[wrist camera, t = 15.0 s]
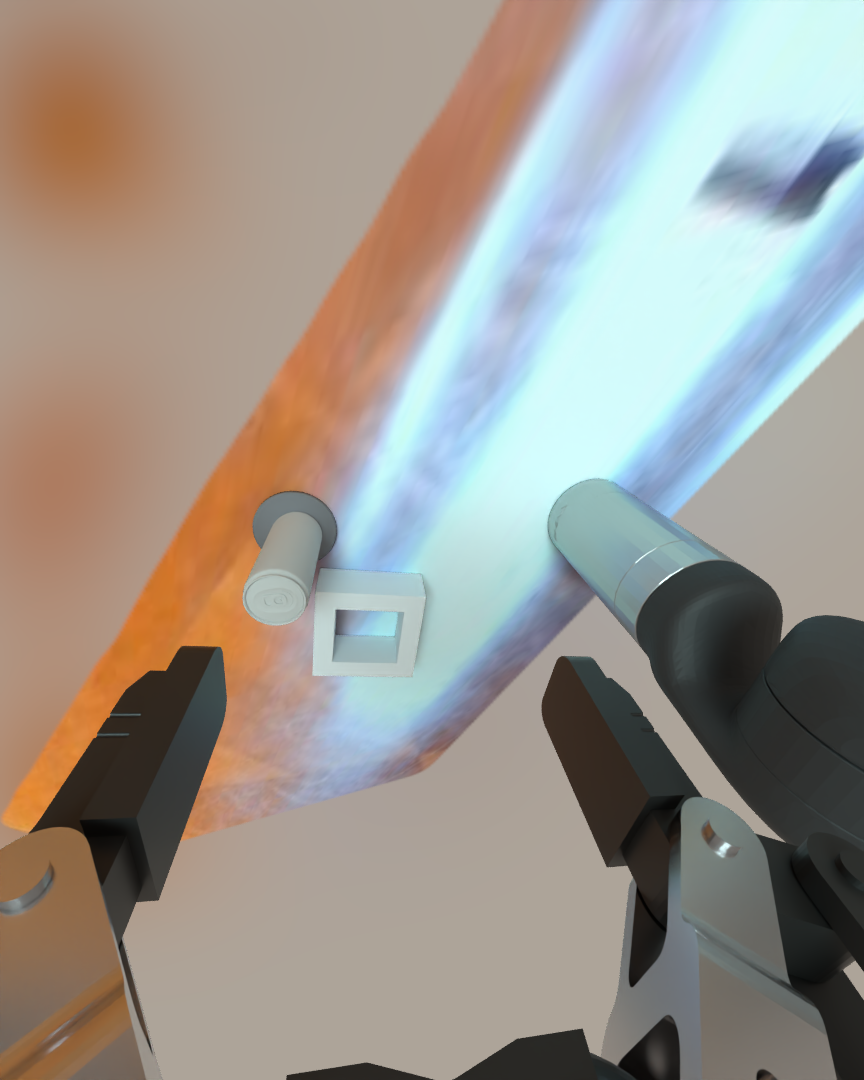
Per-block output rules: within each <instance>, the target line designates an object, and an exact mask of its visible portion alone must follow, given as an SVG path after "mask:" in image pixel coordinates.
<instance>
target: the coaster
mask: <svg viewBox="0 0 864 1080" xmlns="http://www.w3.org/2000/svg"><path fill="white" fill-rule="evenodd" d="M290 512H302V513H305V514H308V515H309V516H311V517H313V518H314V519H315V520H316V521H317V522H318V524H319V525H320V527H321V531H322V540H321V545H320V550H319V555H318V560H320V559H321V558H323V557H324V556H325V555H327V553H328V552H329V551H330V550H331V548H332V547H333V544H334V542H335V538H336V522H335V519H334V516H333V514H332V512H331V511H330V509H329V508H328V507H327V506H326V505H325V504H324V503H323V502H322V501H321V500H319V499H318V498H316V497H314V496H312V495H310V494H307V493H304V492H299V491H285V492H280V493H277V494H275V495H273V496H271V497H269V498H268V499H266V500H265V501H264V502H263V503H262V504H261V505H260V507H259V508H258V510H257V512H256V514H255V516H254V520H253V533H254V537H255V539H256V542H257V543H258V545H259V546H260V548H261V549H262V547H263V545H264V543H265V541H266V539H267V536H268V534H269V532H270V530H271V528H272V526H273V524H274V523H275V521H276V520H277V519H278V518H280V517H281V516H283V515H285V514H287V513H290ZM318 560H317V561H318Z"/></svg>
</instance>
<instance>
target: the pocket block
mask: <svg viewBox="0 0 864 1080" xmlns="http://www.w3.org/2000/svg"><path fill="white" fill-rule="evenodd" d="M425 601H426V594H425V589H424V584H423V580H422V575H421V574H414V573H397V572H380V571H363V570H347V569H330V568H320V571H319V576H318V581H317V586H316V591H315V617H314V647H313V676H371V677H412V676H413V670H414V664H415V659H416V653H417V647H418V641H419V636H420V630H421V624H422V618H423V613H424V607H425ZM337 609H340V610H364V611H388V612H398V616H397V623H396V630H395V637H390V636H358V635H335V629H336V612H337Z"/></svg>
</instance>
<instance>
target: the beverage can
mask: <svg viewBox="0 0 864 1080" xmlns="http://www.w3.org/2000/svg"><path fill="white" fill-rule="evenodd" d="M321 540H322V531H321V527H320V525H319V524H318V522H317V521H316V520H315V519H314V518H313V517H311V516H309V515H308V514H305V513H302V512H290V513H287V514H285V515H283V516H281V517H280V518H278V519H277V520H276V521H275V523H274V524H273V526H272V528H271V530H270V532H269V534H268V536H267V539H266V541H265V543H264V545H263V547H262V549H261V551H260V553H259V556H258V558H257V560H256V562H255V564H254V566H253V568H252V570H251V573H250V575H249V577H248V579H247V581H246V583H245V586H244V591H243V605H244V607H245V609H246V611H247V612H248V613H249V614H250V616H251V617H253V618H254V619H256V620H257V621H259V622H262V623H264V624H268V625H285V624H289V623H291V622H293V621H295V620H296V619H298V618H299V617H300V616H301V615H302V613H303V612H304V610H305V608H306V607H307V605H308V601H309V598H310V593H311V588H312V584H313V579H314V574H315V569H316V564H317V560H318V555H319V550H320V545H321Z"/></svg>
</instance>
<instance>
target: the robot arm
mask: <svg viewBox="0 0 864 1080" xmlns="http://www.w3.org/2000/svg"><path fill="white" fill-rule="evenodd" d="M548 531H549V535H550V538H551V540H552V541H553V543H554V545H555V546H556V547H557V548H558V549H559V551H560V552H561V553H562V554H563V555H564V557H565V558H566V559H567V560H568V562H569V563H570V564H571V565H572V566H573V567H574V569H575V570H576V571H577V572H578V573H579V575H580V576H581V577H582V578H583V579H584V581H585V582H586V583H587V584H588V585H589V587H590V588H591V589H592V590H593V591H594V592H595V594H596V595H597V596H598V597H599V598H600V600H601V601H602V602H603V603H604V604H605V606H606V607H607V608H608V609H609V610H610V611H611V613H612V614H613V615H614V616H615V617H616V618H617V620H618V621H619V622H620V623H621V625H622V626H623V627H624V628H625V629H626V630H627V632H628V633H629V634H630V635H631V636H632V637H633V639H634V640H635V641H636V642H637V643H638V645H639V646H640V647H641V648H642V650H643V651H644V652H645V653H646V654H647V656H648V657H649V660H650V664H651V668H652V671H653V674H654V677H655V679H656V681H657V683H658V684H659V686H660V687H661V689H662V691H663V692H664V693H665V695H666V696H667V697H668V699H669V700H670V702H671V703H672V704H673V706H674V707H675V708H676V710H677V711H678V713H679V714H680V715H681V717H682V718H683V720H684V721H685V722H686V724H687V725H688V727H689V728H690V729H691V731H692V732H693V734H694V735H695V736H696V738H697V739H698V741H699V742H700V743H701V745H702V746H703V748H704V749H705V751H706V752H707V754H708V755H709V756H710V758H711V759H712V760H713V762H714V763H715V765H716V766H717V767H718V768H719V770H720V771H721V772H722V774H723V775H724V776H725V778H726V779H727V781H728V782H729V783H730V784H731V786H732V787H733V788H734V789H735V790H736V792H737V793H738V794H739V795H740V796H741V798H742V799H743V800H744V801H745V802H746V804H747V805H748V806H749V807H750V808H751V809H752V810H753V811H754V812H755V813H756V814H757V815H758V816H759V817H760V818H761V819H762V820H763V821H764V822H765V824H767V825H768V827H770V828H771V829H772V830H773V831H774V832H775V833H776V834H777V835H778V836H779V837H780V838H782V839H783V840H784V841H785V842H786V843H785V842H781V841H778V840H775V839H772V838H768V837H765V836H761V835H758V834H755V833H754V831H753V830H752V829H751V828H750V827H749V826H748V825H747V824H746V822H745V821H744V820H742V819H741V818H740V817H739V816H738V815H737V814H735V813H734V812H733V811H732V810H730V809H729V808H727V807H725V806H724V805H722V804H720V803H718V802H716V801H714V800H711V799H708V798H703V797H702V796H701V794H700V793H699V792H698V790H697V789H696V787H695V786H694V785H693V783H692V782H691V780H690V779H689V778H688V776H687V775H686V773H685V772H684V770H683V769H682V767H681V766H680V765H679V763H678V762H677V760H676V759H675V758H674V756H673V755H672V753H671V752H670V750H669V749H668V748H667V746H666V745H665V743H664V742H663V740H662V739H661V738H660V736H659V735H658V733H656V732H654V728H653V726H652V725H651V723H650V722H649V721H648V719H647V718H646V717H644V716H643V712H642V711H641V709H640V708H639V706H638V705H637V704H636V702H635V701H634V699H633V698H632V697H631V695H630V694H629V693H628V692H627V691H626V690H624V689H623V688H622V687H621V686H620V685H619V684H618V683H616V682H615V681H614V680H613V679H612V678H606V676H605V675H604V673H603V672H602V670H601V669H600V667H599V666H598V665H597V663H596V662H595V660H593V659H592V658H591V657H576V656H575V657H574V656H573V657H572V656H561V657H560V658H558V660H557V662H556V664H555V667H554V669H553V672H552V675H551V678H550V680H549V683H548V686H547V688H546V691H545V694H544V697H543V700H542V717H543V721H544V724H545V727H546V729H547V731H548V733H549V736H550V738H551V741H552V743H553V745H554V747H555V750H556V752H557V754H558V757H559V759H560V761H561V763H562V766H563V768H564V770H565V772H566V775H567V777H568V779H569V782H570V784H571V786H572V788H573V791H574V793H575V795H576V798H577V800H578V802H579V805H580V807H581V809H582V811H583V814H584V816H585V818H586V821H587V823H588V825H589V827H590V830H591V832H592V834H593V837H594V839H595V841H596V843H597V846H598V848H599V850H600V852H601V855H602V857H603V859H604V861H605V864H606V866H607V867H616V866H628V868H629V870H630V872H631V874H632V876H633V879H632V881H631V883H630V885H629V891H628V902H627V910H626V920H625V929H624V939H623V948H622V958H621V967H620V978H619V986H618V992H617V997H616V1001H615V1004H614V1007H613V1010H612V1012H611V1014H610V1017H609V1020H608V1024H607V1027H606V1032H605V1036H604V1041H603V1047H602V1054H601V1057H599V1056H597V1055H595V1054H592V1053H590V1052H589V1049H588V1045H587V1042H586V1039H585V1035H584V1032H583V1029H577V1030H571V1031H565V1032H558V1033H552V1034H546V1035H539V1036H533V1037H526V1038H520V1039H516V1040H515V1041H513V1042H511V1043H510V1044H508V1045H507V1046H505V1047H504V1048H502V1049H501V1050H499V1051H498V1052H496V1053H494V1054H493V1055H491V1056H490V1057H488V1058H487V1059H485V1060H484V1061H482V1062H480V1063H479V1064H477V1065H476V1066H474V1067H473V1068H471V1069H470V1070H468V1071H466V1072H465V1073H463V1074H462V1075H460V1076H459V1077H457V1078H455V1079H453V1080H864V1000H863V999H862V997H861V996H860V994H859V993H858V991H857V990H856V989H855V987H854V986H853V984H852V983H851V981H850V980H849V978H848V977H847V975H846V974H845V973H844V971H843V969H844V968H845V967H847V966H848V965H850V964H851V963H852V962H854V961H855V960H856V962H857V963H858V965H859V966H860V967H861V969H862V970H863V971H864V622H863V621H859V620H855V619H851V618H847V617H841V616H829V615H823V616H815V617H811V618H808V619H805V620H803V621H802V622H800V623H799V624H797V625H796V626H795V627H794V628H793V629H792V630H791V631H790V632H789V633H788V634H787V635H786V636H785V638H784V639H783V640H782V641H781V643H780V639H781V630H782V622H783V614H782V606H781V603H780V600H779V598H778V596H777V594H776V592H775V591H774V590H773V589H772V588H771V586H770V585H769V584H767V583H766V582H765V581H764V580H762V579H761V578H760V577H759V576H757V575H755V574H754V573H752V572H751V571H749V570H748V569H746V568H745V567H743V566H741V565H740V564H738V563H737V562H735V561H734V560H732V559H731V558H729V557H728V556H726V555H724V554H723V553H722V552H720V551H718V550H717V549H715V548H714V547H712V546H710V545H709V544H707V543H706V542H704V541H703V540H701V539H700V538H698V537H697V536H695V535H693V534H692V533H690V532H689V531H687V530H686V529H684V528H683V527H681V526H680V525H678V524H677V523H675V522H674V521H672V520H670V519H669V518H667V517H666V516H664V515H663V514H661V513H660V512H658V511H657V510H655V509H654V508H652V507H651V506H649V505H647V504H646V503H644V502H643V501H641V500H640V499H638V498H637V497H635V496H634V495H632V494H631V493H629V492H628V491H626V490H625V489H623V488H621V487H620V486H618V485H617V484H615V483H614V482H611V481H608V480H605V479H590V480H586V481H583V482H580V483H578V484H576V485H574V486H572V487H571V488H570V489H568V490H567V491H566V492H564V493H563V494H562V496H561V497H560V498H559V499H558V500H557V502H556V503H555V505H554V506H553V508H552V511H551V513H550V516H549V521H548ZM226 702H227V695H226V684H225V673H224V662H223V652H222V649H221V647H207V646H182V647H181V648H180V649H179V650H178V651H177V653H176V655H175V656H174V658H173V660H172V662H171V663H170V665H169V667H168V668H167V670H166V671H149V672H148V673H146V674H145V675H144V676H143V677H141V678H140V679H139V680H138V681H136V682H135V683H134V684H133V685H131V686H130V687H129V688H128V689H126V690H125V692H124V693H123V695H122V696H121V698H120V699H119V701H118V702H117V704H116V705H115V707H114V709H113V710H112V712H111V713H110V717H109V718H107V719H106V721H105V722H104V724H103V725H102V727H101V728H100V730H99V731H98V733H97V737H96V738H94V739H93V740H92V742H91V743H90V745H89V746H88V748H87V749H86V751H85V752H84V754H83V755H82V757H81V758H80V760H79V761H78V763H77V764H76V766H75V767H74V769H73V770H72V772H71V773H70V775H69V776H68V778H67V779H66V781H65V782H64V784H63V785H62V787H61V788H60V790H59V791H58V793H57V795H56V796H55V798H54V799H53V801H52V802H51V804H50V805H49V807H48V808H47V810H46V811H45V813H44V814H43V816H42V817H41V819H40V820H39V821H38V823H37V824H36V825H35V827H34V828H33V829H32V830H31V831H30V832H29V834H28V835H25V836H23V837H21V838H19V839H17V840H15V841H13V842H12V843H10V844H8V845H6V846H5V847H4V848H2V849H0V1080H163V1079H162V1076H161V1073H160V1069H159V1066H158V1063H157V1060H156V1056H155V1052H154V1049H153V1045H152V1042H151V1038H150V1034H149V1030H148V1027H147V1023H146V1020H145V1016H144V1012H143V1009H142V1005H141V1001H140V998H139V994H138V990H137V987H136V983H135V979H134V976H133V972H132V968H131V965H130V961H129V957H128V954H127V950H126V946H125V943H124V939H123V934H124V932H125V929H126V927H127V924H128V922H129V919H130V917H131V914H132V912H133V909H134V906H135V904H136V902H143V901H156V900H159V898H160V895H161V892H162V889H163V887H164V884H165V881H166V878H167V875H168V873H169V870H170V867H171V865H172V862H173V859H174V856H175V853H176V851H177V848H178V845H179V843H180V840H181V837H182V834H183V832H184V829H185V826H186V823H187V821H188V818H189V815H190V813H191V810H192V807H193V804H194V802H195V799H196V796H197V793H198V791H199V788H200V785H201V782H202V780H203V777H204V774H205V771H206V769H207V766H208V763H209V760H210V758H211V755H212V752H213V749H214V747H215V744H216V741H217V738H218V736H219V733H220V730H221V727H222V724H223V721H224V717H225V711H226ZM286 1080H433V1079H429V1078H425V1077H421V1076H417V1075H414V1074H410V1073H406V1072H402V1071H398V1070H394V1069H390V1068H386V1067H382V1066H378V1065H375V1064H371V1063H361V1064H355V1065H348V1066H342V1067H336V1068H330V1069H323V1070H317V1071H311V1072H304V1073H298V1074H291V1075H287V1078H286Z"/></svg>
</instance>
